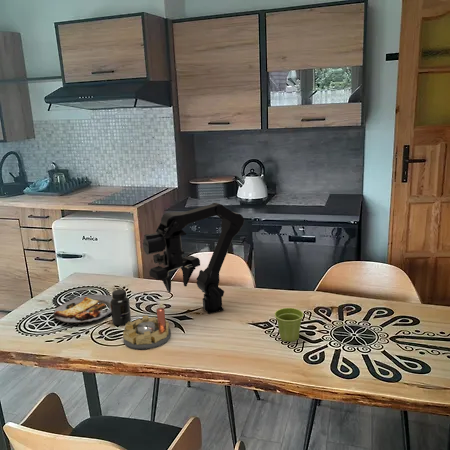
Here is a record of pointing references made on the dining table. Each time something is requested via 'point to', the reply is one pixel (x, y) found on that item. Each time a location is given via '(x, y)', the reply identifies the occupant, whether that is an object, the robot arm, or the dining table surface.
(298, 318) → the plant pot
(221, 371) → the dining table surface
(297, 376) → the dining table surface
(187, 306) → the dining table surface
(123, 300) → the supplement bottle
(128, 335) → the handwheel
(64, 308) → the food plate
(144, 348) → the flange
